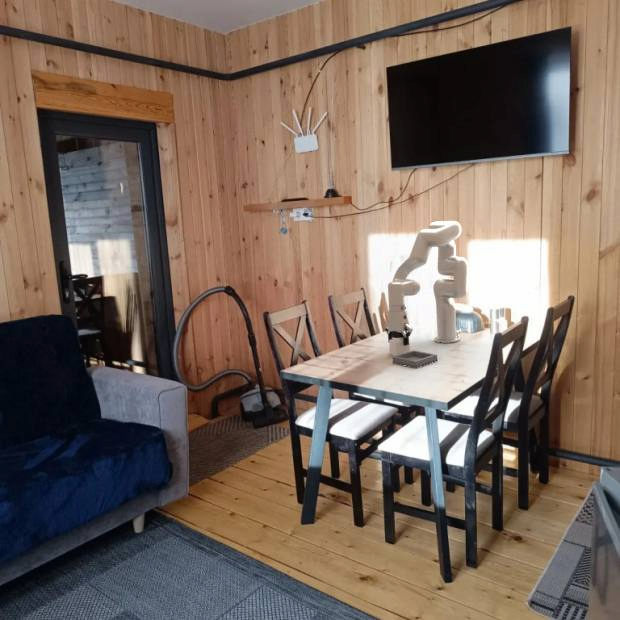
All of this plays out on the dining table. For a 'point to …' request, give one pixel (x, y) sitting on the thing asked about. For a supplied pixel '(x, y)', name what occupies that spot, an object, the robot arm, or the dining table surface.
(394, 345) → the medicine bottle
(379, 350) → the dining table surface
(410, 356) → the tray
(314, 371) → the dining table surface
